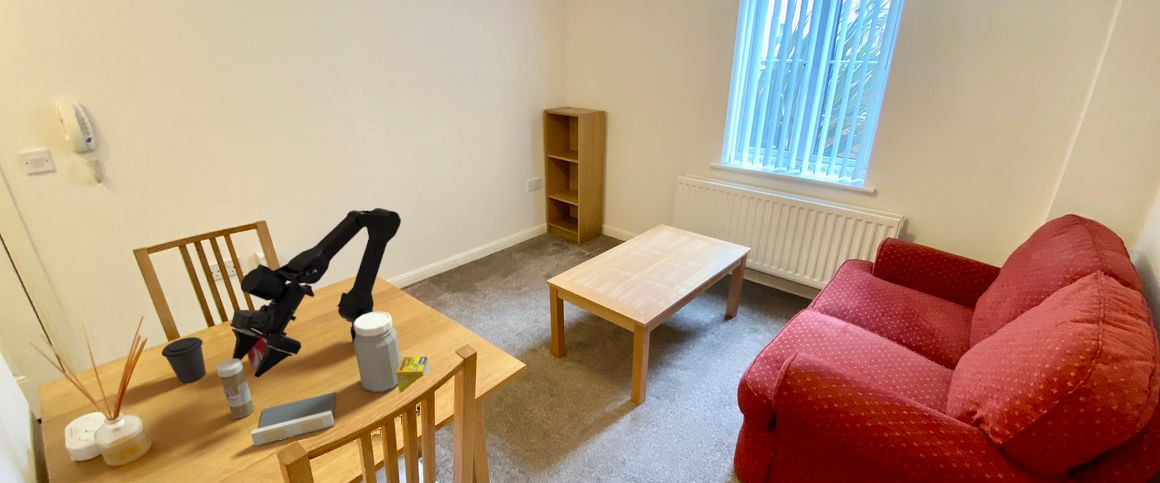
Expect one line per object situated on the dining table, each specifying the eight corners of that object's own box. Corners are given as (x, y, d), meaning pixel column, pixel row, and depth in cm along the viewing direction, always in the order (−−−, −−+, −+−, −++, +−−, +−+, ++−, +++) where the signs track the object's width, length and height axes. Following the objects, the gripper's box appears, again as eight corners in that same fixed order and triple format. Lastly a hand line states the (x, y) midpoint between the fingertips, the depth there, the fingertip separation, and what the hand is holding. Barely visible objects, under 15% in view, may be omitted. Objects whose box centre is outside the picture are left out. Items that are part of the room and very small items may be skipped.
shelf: (335, 393, 118) (332, 381, 116) (333, 426, 107) (331, 414, 106) (263, 410, 112) (259, 398, 111) (254, 447, 102) (250, 434, 100)
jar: (362, 374, 124) (350, 314, 117) (402, 365, 128) (393, 306, 121) (362, 398, 116) (349, 334, 109) (405, 388, 119) (395, 326, 113)
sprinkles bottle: (226, 418, 109) (210, 369, 104) (242, 404, 114) (227, 356, 108) (244, 420, 109) (229, 371, 104) (260, 406, 113) (245, 358, 108)
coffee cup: (220, 370, 125) (209, 337, 121) (187, 390, 118) (175, 356, 114) (198, 364, 127) (186, 331, 124) (164, 382, 120) (151, 349, 117)
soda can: (267, 371, 125) (255, 331, 120) (243, 367, 126) (231, 328, 122) (287, 355, 131) (277, 317, 127) (265, 352, 133) (254, 314, 128)
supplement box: (407, 393, 118) (402, 356, 113) (433, 392, 118) (428, 355, 114) (401, 411, 112) (395, 372, 108) (428, 409, 113) (422, 371, 108)
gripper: (229, 285, 112) (187, 349, 107) (276, 305, 103) (234, 376, 99) (271, 301, 121) (234, 360, 116) (317, 321, 113) (280, 386, 108)
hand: (244, 370), depth 109 cm, fingers open, 9 cm apart
